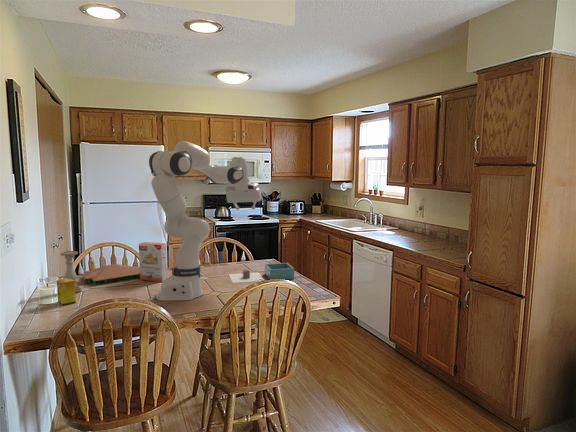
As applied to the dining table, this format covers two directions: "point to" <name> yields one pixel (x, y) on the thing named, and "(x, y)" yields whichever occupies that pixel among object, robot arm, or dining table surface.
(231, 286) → the dining table surface
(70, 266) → the candle holder
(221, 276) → the dining table surface
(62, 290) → the supplement box
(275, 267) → the teal open box
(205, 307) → the dining table surface
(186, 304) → the dining table surface
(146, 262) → the cracker box
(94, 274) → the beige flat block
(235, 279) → the lid
